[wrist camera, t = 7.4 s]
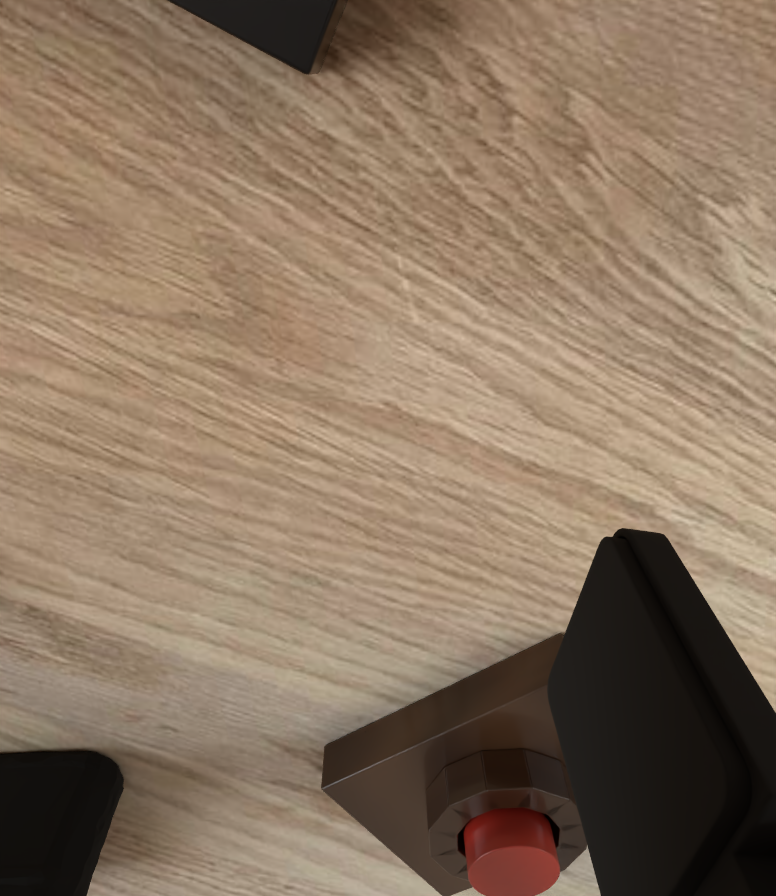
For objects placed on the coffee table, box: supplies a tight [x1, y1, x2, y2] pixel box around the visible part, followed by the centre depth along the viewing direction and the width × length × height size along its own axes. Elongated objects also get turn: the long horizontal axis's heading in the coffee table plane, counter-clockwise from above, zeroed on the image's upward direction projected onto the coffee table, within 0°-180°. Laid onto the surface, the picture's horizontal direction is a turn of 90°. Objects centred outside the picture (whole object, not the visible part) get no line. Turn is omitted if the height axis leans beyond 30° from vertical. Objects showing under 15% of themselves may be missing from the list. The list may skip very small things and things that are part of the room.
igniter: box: [321, 634, 587, 896], centre depth 30 cm, size 12×10×4 cm
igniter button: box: [464, 807, 560, 896], centre depth 28 cm, size 4×4×2 cm
